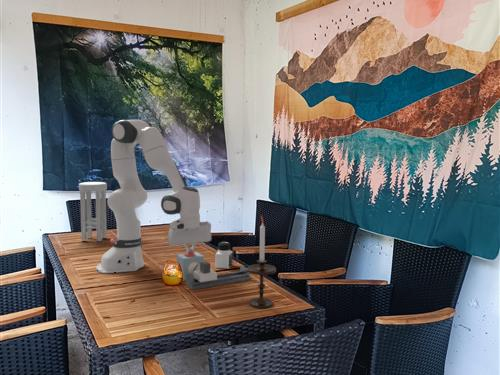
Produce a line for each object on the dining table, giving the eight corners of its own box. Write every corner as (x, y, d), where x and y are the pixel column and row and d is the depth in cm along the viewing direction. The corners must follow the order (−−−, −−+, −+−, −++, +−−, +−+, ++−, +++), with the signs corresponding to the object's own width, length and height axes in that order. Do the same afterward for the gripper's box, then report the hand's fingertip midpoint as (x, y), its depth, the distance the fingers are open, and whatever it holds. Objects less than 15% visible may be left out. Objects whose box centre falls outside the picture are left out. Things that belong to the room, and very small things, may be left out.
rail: (192, 289, 185) (192, 279, 184) (185, 284, 192) (185, 274, 191) (250, 279, 199) (250, 270, 198) (241, 274, 206) (241, 265, 205)
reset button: (187, 264, 199) (187, 254, 198) (184, 262, 202) (184, 252, 202) (196, 263, 201) (196, 253, 200) (192, 261, 204) (192, 251, 204)
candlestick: (254, 311, 163) (255, 218, 159) (242, 301, 173) (243, 213, 169) (280, 307, 167) (282, 216, 163) (267, 297, 177) (269, 211, 173)
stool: (102, 243, 262) (101, 184, 258) (76, 242, 262) (74, 184, 258) (111, 237, 277) (109, 182, 273) (86, 236, 277) (85, 181, 273)
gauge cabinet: (184, 281, 195) (184, 259, 194) (176, 275, 203) (176, 254, 202) (204, 277, 201) (204, 256, 199) (196, 272, 208) (196, 251, 207)
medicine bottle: (229, 269, 215) (229, 244, 213) (215, 267, 216) (215, 244, 215) (232, 264, 222) (232, 241, 220) (219, 263, 223) (219, 240, 222)
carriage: (200, 282, 187) (200, 266, 186) (193, 277, 193) (193, 262, 192) (217, 279, 191) (217, 263, 190) (210, 275, 197) (210, 259, 196)
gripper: (208, 219, 207) (207, 248, 209) (166, 223, 197) (166, 253, 199) (213, 222, 202) (213, 251, 204) (171, 226, 192) (171, 257, 193)
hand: (190, 252), depth 201 cm, fingers closed
